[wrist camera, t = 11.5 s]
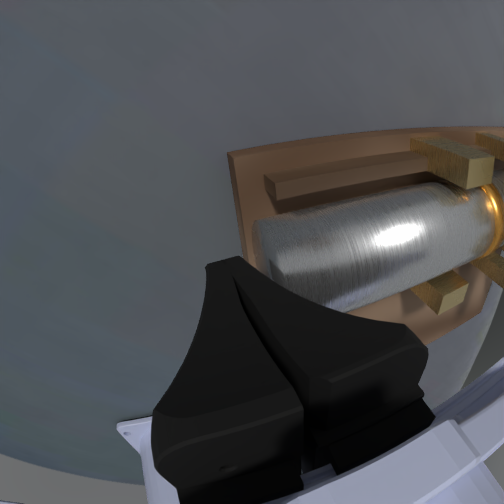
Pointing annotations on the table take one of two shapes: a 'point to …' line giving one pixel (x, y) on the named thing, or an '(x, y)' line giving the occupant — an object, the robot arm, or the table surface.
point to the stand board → (351, 186)
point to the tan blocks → (466, 176)
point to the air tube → (379, 241)
